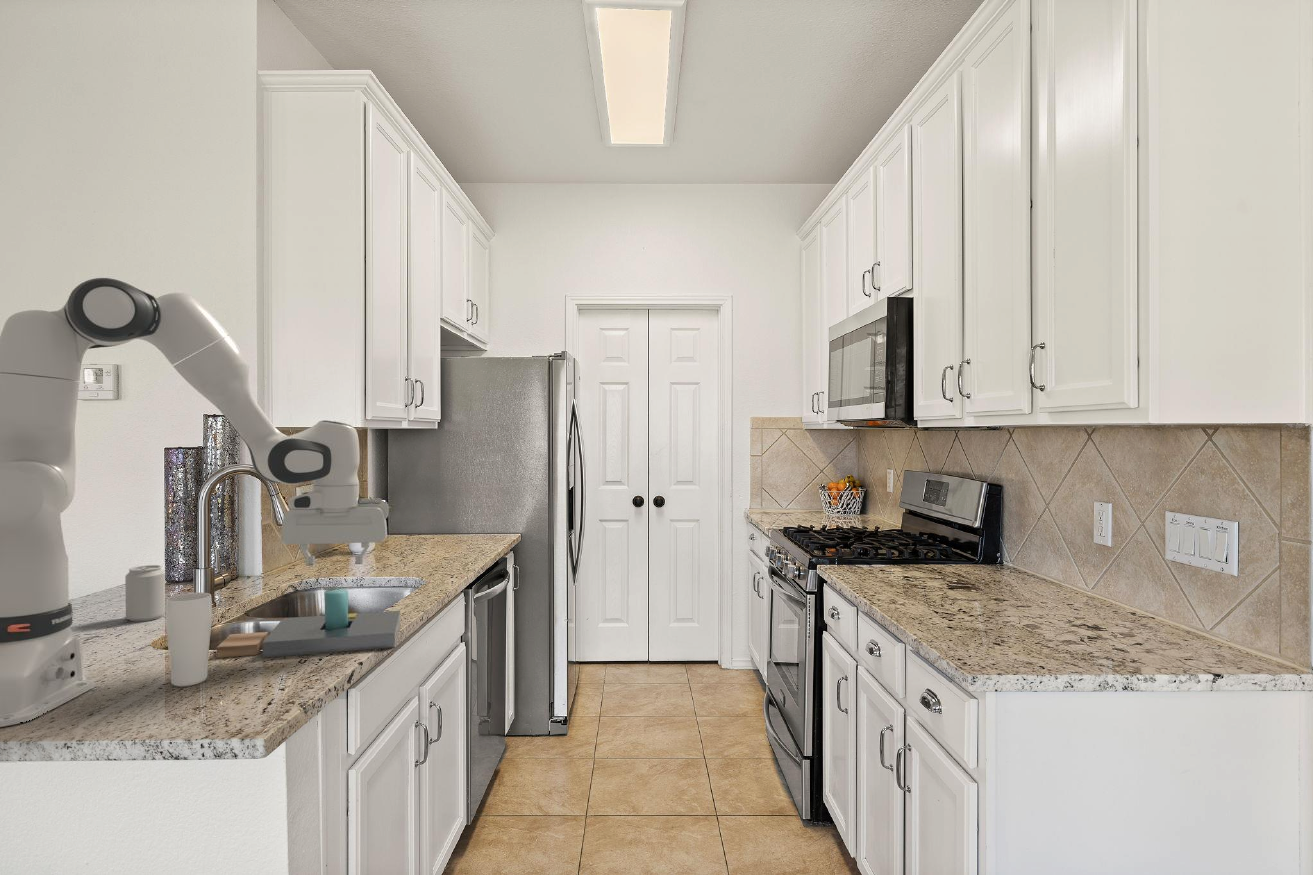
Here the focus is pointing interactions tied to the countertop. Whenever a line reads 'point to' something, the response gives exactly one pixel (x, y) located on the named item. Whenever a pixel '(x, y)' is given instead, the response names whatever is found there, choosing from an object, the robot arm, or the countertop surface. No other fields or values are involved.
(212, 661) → the countertop surface
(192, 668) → the drinking glass
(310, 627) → the grey flat block
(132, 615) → the can
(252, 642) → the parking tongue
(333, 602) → the barrel peg
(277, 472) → the robot arm
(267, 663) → the countertop surface
